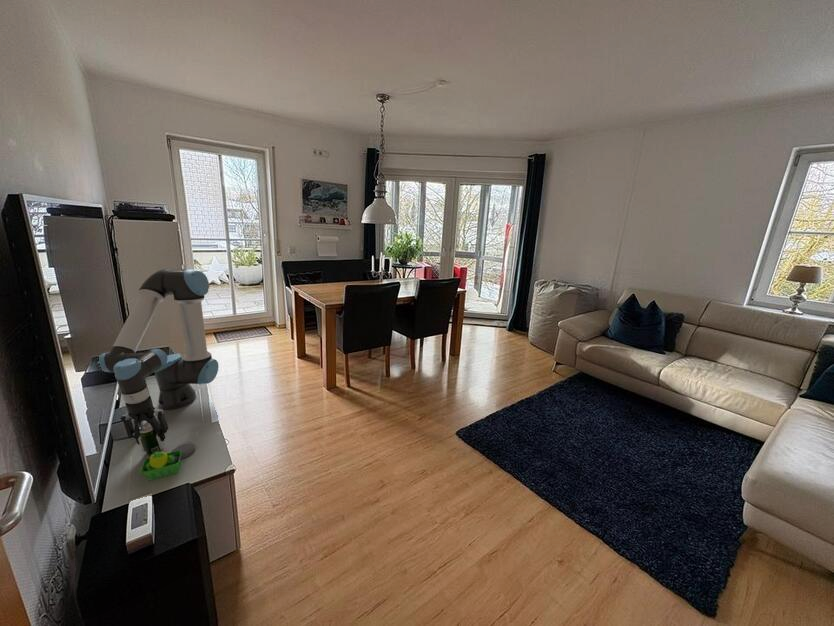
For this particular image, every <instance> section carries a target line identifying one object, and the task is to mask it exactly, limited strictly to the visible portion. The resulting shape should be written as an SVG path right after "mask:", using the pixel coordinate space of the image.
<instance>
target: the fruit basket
mask: <svg viewBox="0 0 834 626" xmlns="http://www.w3.org/2000/svg"><path fill="white" fill-rule="evenodd" d="M180 457H181V451H180V450H179V451H175V452H172V451H171V452H166V451H160V452H155V453H154V454H152V455H150V456H149V457H146V458H145V459H144V461H143V464H142V467H141V469H140V471H139V472H140V474H142V475H143V476H144V477H146V479H147V480H148V481H150V480H154V479H158V478H163V477H166V476H170V475H174V474H178V473H179V469H180V465H181V460H180Z"/></svg>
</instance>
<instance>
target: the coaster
mask: <svg viewBox="0 0 834 626" xmlns="http://www.w3.org/2000/svg"><path fill="white" fill-rule="evenodd" d="M179 450H180V451H181V457H180V461H182V460H184V459H187V458H188V457H191V456H192V455H193V454H194V453H195V450H196V447H195V444H193V443H191V442H190V443H189V442H188V443H183V444H182V443H181V444H180V445H178V446H176V447H174V448H173V449H172V450H171V452H175V451H179Z"/></svg>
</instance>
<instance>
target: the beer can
mask: <svg viewBox="0 0 834 626" xmlns="http://www.w3.org/2000/svg"><path fill="white" fill-rule="evenodd" d="M139 433H140V436H141V439H142V442H143V445H144V448H145V453H146V455H148V456H151V455H152V454H154V453H155V452H162V450H163V449H161V450H160V447H159V444H158V441H157V438H156V436H157V433H156V431H155V430H154V429H153V427H152V426H151V425H150V424H149V423H147V422H146V423H143V424H141V426H140V428H139Z"/></svg>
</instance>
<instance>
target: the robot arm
mask: <svg viewBox="0 0 834 626" xmlns="http://www.w3.org/2000/svg"><path fill="white" fill-rule="evenodd" d="M209 289H210V283H209V279H208V277H207V275H206V274H205V273H204V272H203V271H201V270H199V269H196V268H195V269H194V268H163V269H160V270H158V271H155V272H154V273H152V274H150V275H149V277H148V278H146V280H144V282H143V283H142V284H141V285H140V287H139V289H138V291H137V295H138V297H137V300H136V301H135V302H134V305H133V306H132V309H131V310H130V313H129V314H128V316H127V318H126V320H125V322H124V324H123V326H122V329H121V330H120V332H119V334H118V336H117V337H116V340H115V341H114V343H113V345H112V347H111V349H110V351H109V352H108V351H107V352H104V353H101V355H99V356H98V357H99V364H100V367H101V369H102V371H101V372H103V371H104V372H105V373H114V377H115V380H116V381H117V384H118V388H119V390H120V393H121V396H122V398H123V401H124V403H125V408H126V410H127V413H126V412H125V413H123V414H122V415H121V417H120V420H121V421H122V422H123V425H124V428H125V432H126V434H127V437H128V439H132V438H133V439H135V442H136V444H137V445H138V446H140V449H141V451H142V453H146V451H145V448H144V445H143V442H142V439H141V436H140V433H139V428H140V426H142V422H143V421H144V422H146V423H149V424H150V425H151V426H152V427H153V429H154V430H155V431H156V433H157V436H156V438H157V441H158V444H159V447H160V450H161V449H162V450H164V448H165V446H166V443H165V440H166V437H167V436H166V435H165V434H166V433H167V432H168V431H169V425H168V422H167V419H166V417H165V410H175V409H179V408H183V407H184V406H187V405H188V404H190V403H191V402H193V401H195V399H196V397H197V394H196V390H195V389H194V388H193V386H192V385H193V384H194V385H203V384H205V385H207V384H208V385H209V384H210V383H212V382H213V381H215V379H216V378H217V377H216V376H217V375H218V372H219V362H218V360H217V359H215V358H213V357H212V353H211V352H210V351H208V347H207V339H206V338H207V337H206V329H205V323H204V322H205V321H204V315H203V305H202V301H204V299H205V295H207V294H208V293H209ZM167 296H173V300H174V301H175V302H176V303H178V308H179V314H180V323H181V330H182V337H183V338H182V339H183V342H184V353H185V354H184V355H183V356H182V355H181V354H180V353H174V354H173V353H172V354H168V355H167V353H166V352H165V351H164V350H161V349H160V348H153V349H151V350H148V351H147V352H137V350H138V348H139V346H140V343H141V342H142V339H143V337H144V336H145V333H146V332H147V329H148V328H149V325H150V323H151V321H152V319H153V317H154V315H155V313H156V310H157V309H158V308H159V307H158V306H160V304H161V303H162V302H164V301H165V298H166V297H167ZM152 374H154V376H155V377H154V378H155V379H156V383H157V386H158V389H159V393H158V394H159V395H158V401H157V404H158V406H159V408H160V409H156V408H155V407H154V404H153V400H152V397H151V395H150V390H149V388H148V385H147V381H146V379H147V378H148V377H150V376H151V375H152ZM155 415H156V416H155ZM156 417H157V418H156ZM132 419H133V420H134V421H133V422H132ZM133 424H134V425H133ZM162 450H161V451H162Z"/></svg>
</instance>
